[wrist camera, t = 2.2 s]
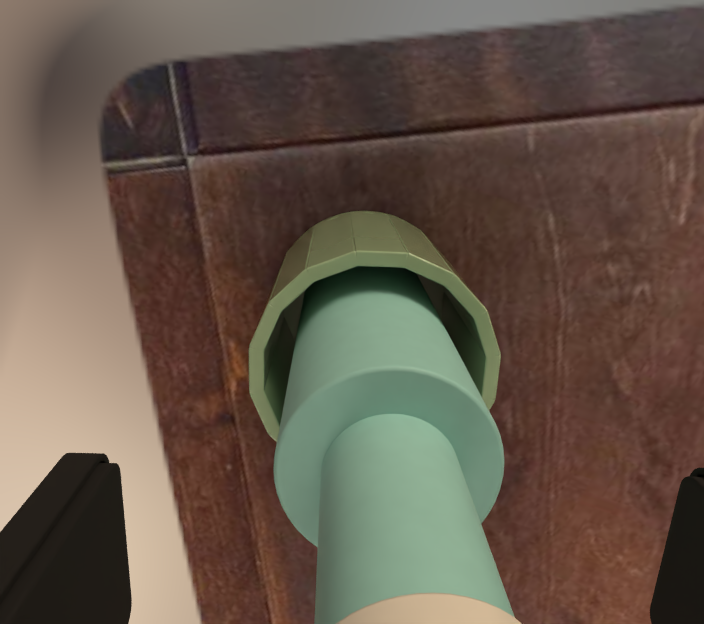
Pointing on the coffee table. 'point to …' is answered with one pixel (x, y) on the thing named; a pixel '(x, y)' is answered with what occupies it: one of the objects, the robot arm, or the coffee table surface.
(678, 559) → the robot arm
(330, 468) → the bottle
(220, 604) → the coffee table surface
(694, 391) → the coffee table surface
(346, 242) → the holder
